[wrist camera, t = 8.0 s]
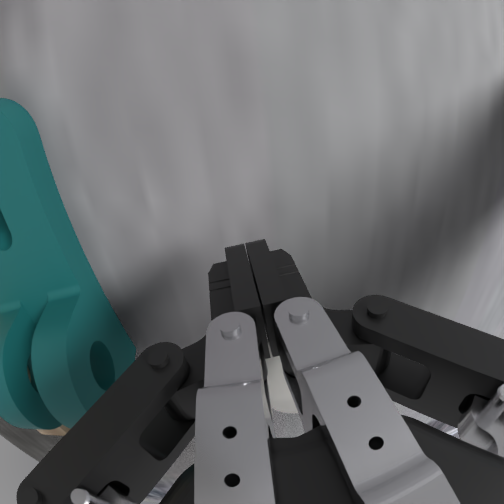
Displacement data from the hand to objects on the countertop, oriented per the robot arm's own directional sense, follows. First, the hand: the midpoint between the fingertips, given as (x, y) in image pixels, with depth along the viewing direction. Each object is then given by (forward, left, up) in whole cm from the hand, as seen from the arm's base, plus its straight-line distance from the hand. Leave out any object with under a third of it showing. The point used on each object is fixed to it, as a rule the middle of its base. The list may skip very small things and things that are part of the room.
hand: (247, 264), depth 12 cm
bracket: (+12, -1, -5) cm, 13 cm away
